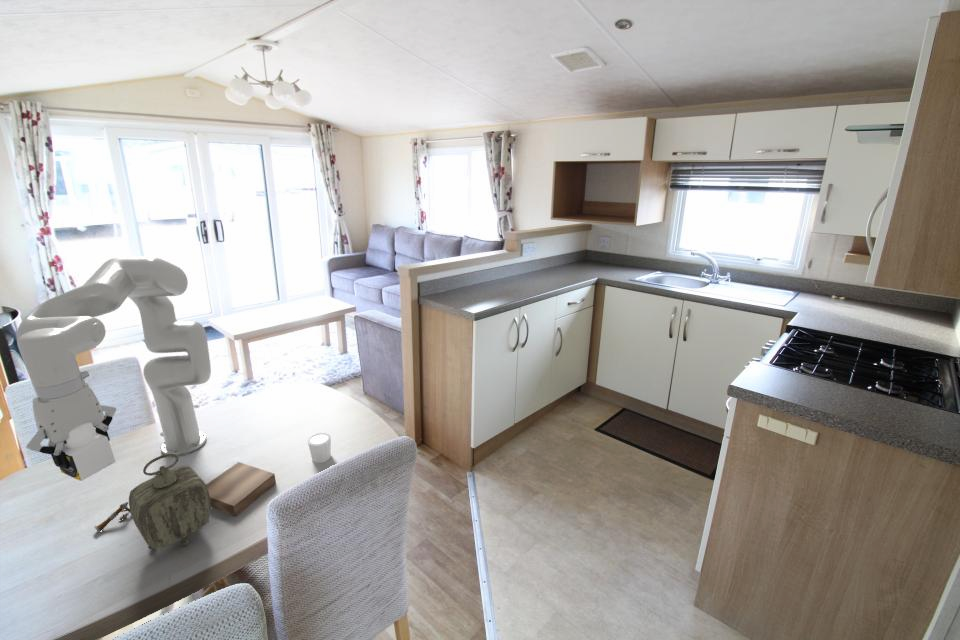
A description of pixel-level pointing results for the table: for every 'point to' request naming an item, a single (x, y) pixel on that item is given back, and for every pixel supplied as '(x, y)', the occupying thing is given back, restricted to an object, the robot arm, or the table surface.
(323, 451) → the white cup
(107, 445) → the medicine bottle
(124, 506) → the wooden post with brackets
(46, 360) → the robot arm
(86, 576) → the table surface
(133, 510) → the camouflage pouch
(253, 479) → the block
